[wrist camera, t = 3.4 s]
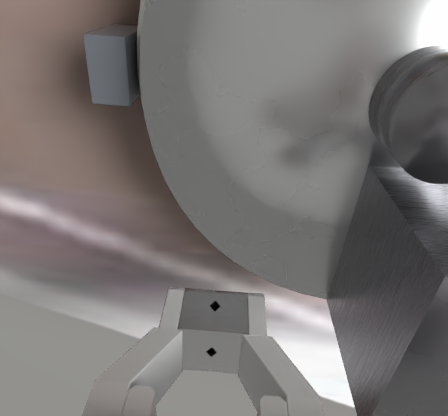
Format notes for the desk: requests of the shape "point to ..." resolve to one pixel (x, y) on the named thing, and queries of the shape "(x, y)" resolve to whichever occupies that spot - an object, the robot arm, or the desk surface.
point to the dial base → (114, 62)
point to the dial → (319, 166)
